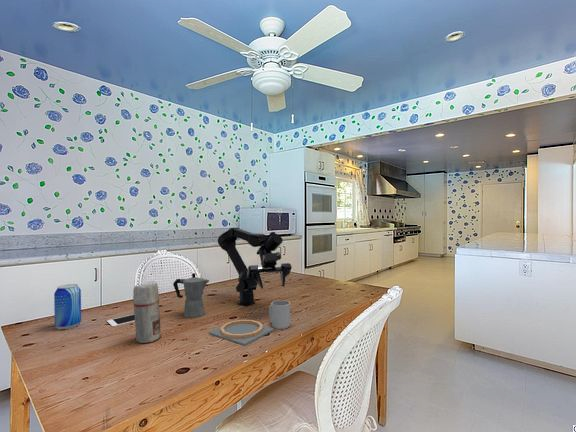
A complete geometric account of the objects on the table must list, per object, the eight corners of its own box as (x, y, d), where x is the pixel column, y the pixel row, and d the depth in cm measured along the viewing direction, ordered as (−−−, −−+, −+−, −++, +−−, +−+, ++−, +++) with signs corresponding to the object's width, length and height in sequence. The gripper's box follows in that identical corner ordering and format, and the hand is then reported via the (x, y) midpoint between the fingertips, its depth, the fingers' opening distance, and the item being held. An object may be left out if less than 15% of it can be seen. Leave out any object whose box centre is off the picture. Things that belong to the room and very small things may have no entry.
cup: (281, 331, 111) (280, 306, 111) (262, 324, 118) (262, 301, 118) (294, 325, 116) (293, 302, 116) (275, 319, 123) (275, 297, 123)
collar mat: (208, 333, 109) (208, 328, 109) (239, 320, 122) (239, 316, 122) (244, 345, 99) (244, 340, 98) (274, 330, 112) (274, 325, 112)
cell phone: (159, 316, 129) (159, 314, 129) (112, 328, 116) (112, 326, 116) (151, 312, 135) (151, 310, 135) (106, 322, 123) (106, 320, 123)
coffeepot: (211, 310, 135) (211, 270, 135) (206, 317, 126) (206, 275, 126) (177, 311, 135) (176, 271, 135) (169, 318, 125) (169, 275, 125)
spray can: (143, 346, 99) (142, 285, 99) (129, 341, 103) (128, 283, 103) (166, 337, 106) (165, 281, 106) (151, 332, 110) (151, 278, 110)
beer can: (86, 323, 120) (85, 284, 120) (64, 331, 112) (64, 289, 112) (71, 321, 123) (71, 282, 123) (49, 329, 115) (48, 287, 115)
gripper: (248, 246, 126) (253, 277, 115) (290, 244, 132) (299, 274, 121) (245, 262, 133) (250, 293, 123) (284, 260, 139) (292, 289, 129)
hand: (273, 287), depth 124 cm, fingers open, 9 cm apart
